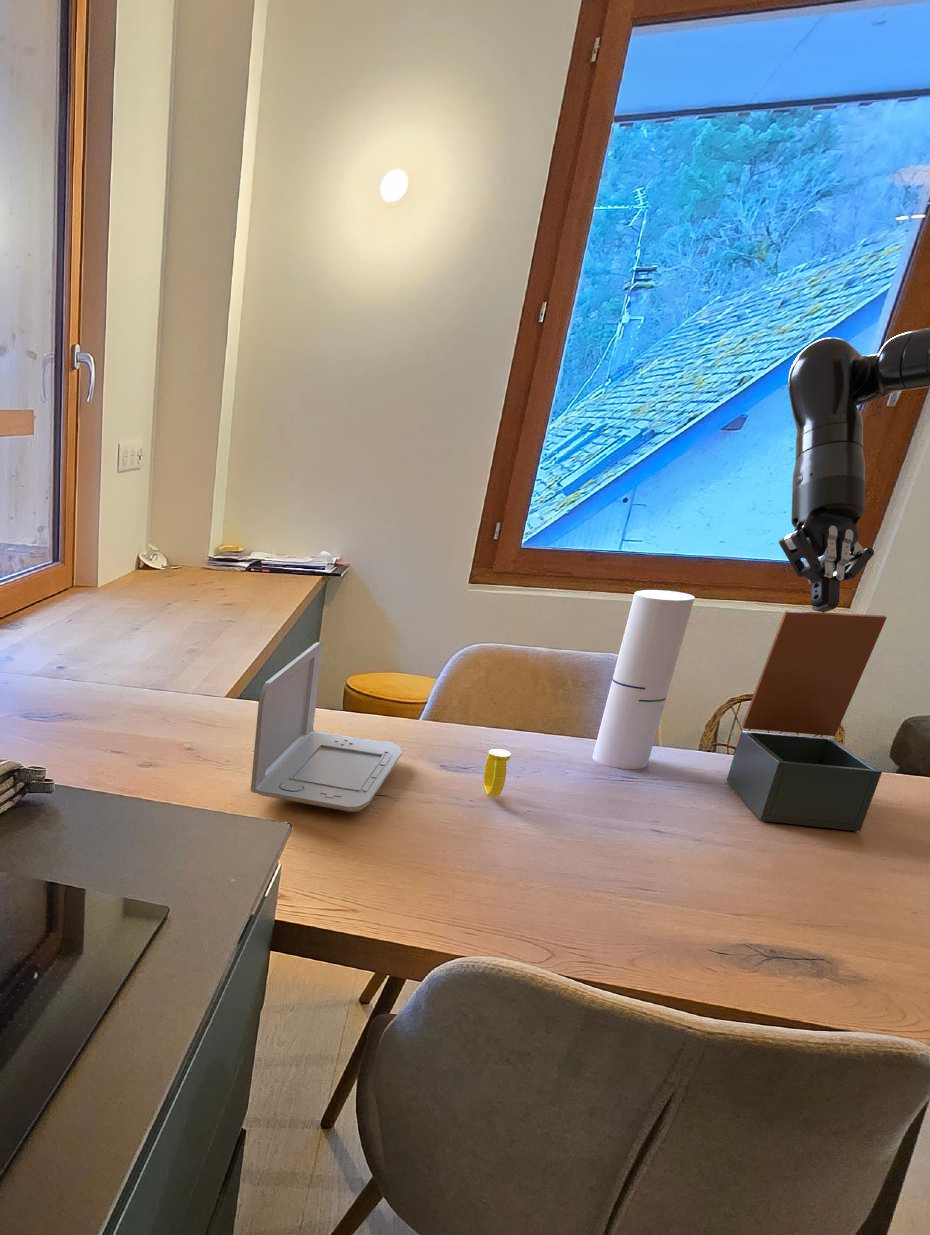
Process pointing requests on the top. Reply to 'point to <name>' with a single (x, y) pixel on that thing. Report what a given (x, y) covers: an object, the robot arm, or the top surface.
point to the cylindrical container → (642, 677)
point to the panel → (812, 672)
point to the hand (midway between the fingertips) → (825, 609)
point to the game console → (312, 746)
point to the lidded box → (802, 780)
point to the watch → (495, 771)
